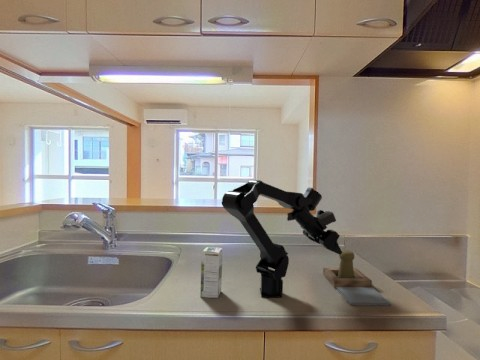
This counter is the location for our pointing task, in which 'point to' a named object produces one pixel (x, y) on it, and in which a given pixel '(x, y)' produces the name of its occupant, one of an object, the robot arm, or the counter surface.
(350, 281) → the frame
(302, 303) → the counter surface
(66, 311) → the counter surface
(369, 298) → the blue gray mat
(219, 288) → the syrup box
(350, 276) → the cork
